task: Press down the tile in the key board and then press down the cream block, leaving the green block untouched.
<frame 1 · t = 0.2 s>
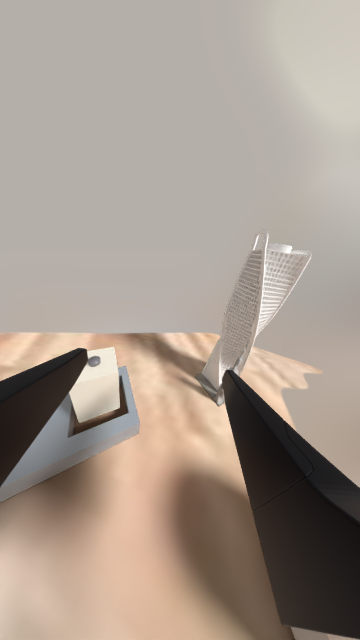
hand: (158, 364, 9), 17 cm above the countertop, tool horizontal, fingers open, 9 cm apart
can: (319, 608, 11), on the countertop
cream block 1: (97, 381, 17), point 7 cm above the countertop, slide at 0.0 cm
skyscraper: (216, 381, 29), on the countertop
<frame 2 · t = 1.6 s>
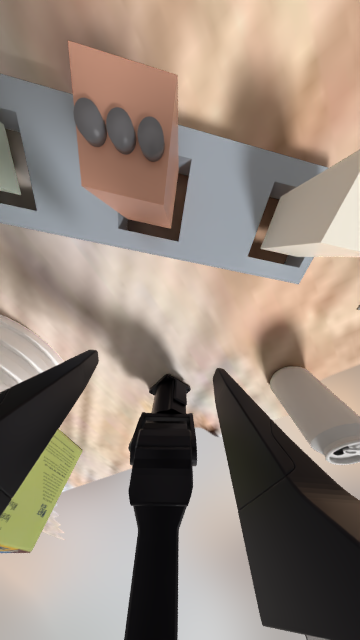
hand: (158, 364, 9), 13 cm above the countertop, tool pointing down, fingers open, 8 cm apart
plate stack: (0, 368, 27), on the countertop
can: (285, 376, 28), on the countertop
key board: (156, 206, 16), on the countertop
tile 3: (141, 174, 9), point 7 cm above the countertop, slide at 0.0 cm
cream block 1: (324, 220, 11), point 7 cm above the countertop, slide at 0.0 cm
protein box: (52, 438, 38), on the countertop
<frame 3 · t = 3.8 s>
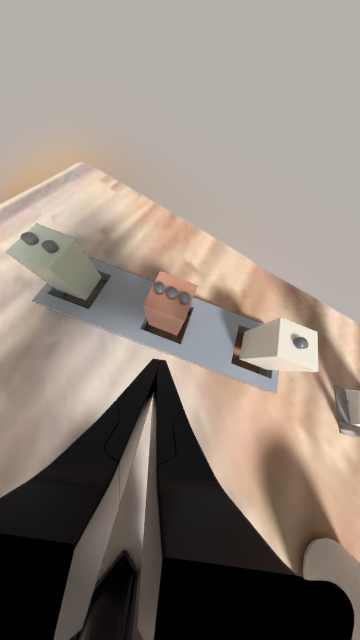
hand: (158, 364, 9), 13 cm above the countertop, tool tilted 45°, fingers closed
can: (323, 572, 16), on the countertop
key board: (167, 322, 24), on the countertop
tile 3: (169, 307, 17), point 7 cm above the countertop, slide at 0.0 cm
green block 2: (63, 266, 17), point 7 cm above the countertop, slide at 0.0 cm
cream block 1: (274, 347, 17), point 7 cm above the countertop, slide at 0.0 cm
skyscraper: (353, 408, 24), on the countertop
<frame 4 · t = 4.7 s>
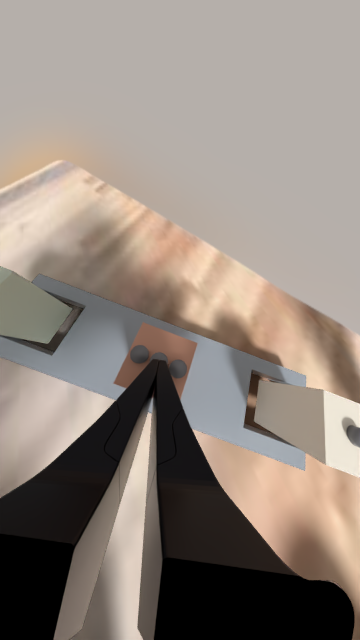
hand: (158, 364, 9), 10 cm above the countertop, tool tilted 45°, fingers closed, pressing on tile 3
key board: (159, 363, 19), on the countertop
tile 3: (159, 362, 13), point 6 cm above the countertop, slide at 0.4 cm, touching gripper
green block 2: (7, 304, 12), point 7 cm above the countertop, slide at 0.0 cm
cream block 1: (306, 418, 12), point 7 cm above the countertop, slide at 0.0 cm
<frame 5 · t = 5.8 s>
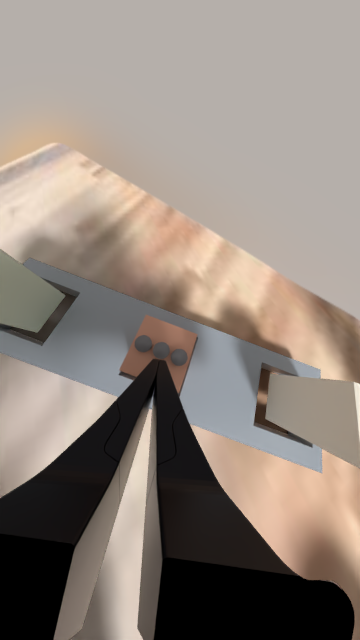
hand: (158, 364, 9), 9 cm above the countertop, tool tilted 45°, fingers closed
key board: (161, 356, 17), on the countertop
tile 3: (161, 353, 13), point 4 cm above the countertop, slide at 2.6 cm
cream block 1: (327, 415, 11), point 7 cm above the countertop, slide at 0.0 cm
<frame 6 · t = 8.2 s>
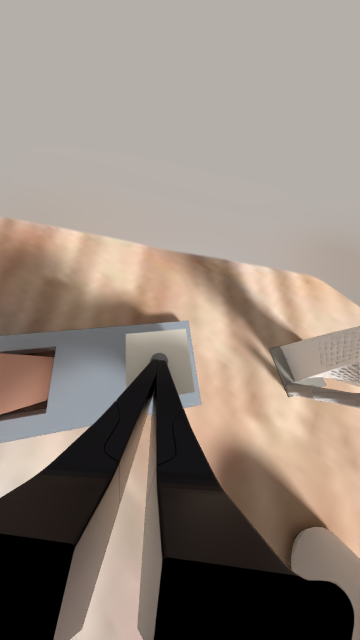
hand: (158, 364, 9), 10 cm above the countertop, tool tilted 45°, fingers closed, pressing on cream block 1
can: (314, 565, 14), on the countertop
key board: (38, 379, 16), on the countertop
cream block 1: (159, 362, 13), point 6 cm above the countertop, slide at 0.4 cm, touching gripper
skyscraper: (294, 361, 22), on the countertop
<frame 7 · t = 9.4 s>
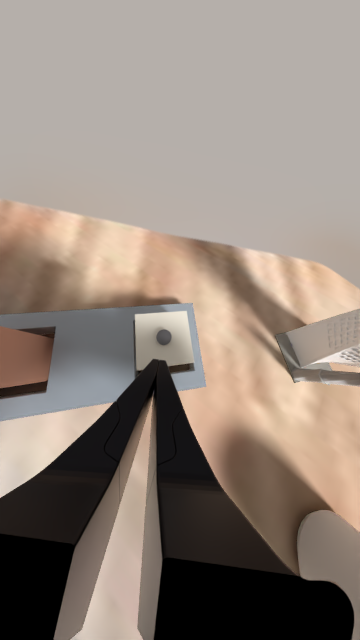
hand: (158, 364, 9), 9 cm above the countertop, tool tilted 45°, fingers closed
can: (320, 548, 14), on the countertop
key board: (38, 361, 16), on the countertop
cream block 1: (163, 343, 14), point 4 cm above the countertop, slide at 2.6 cm
skyscraper: (300, 347, 21), on the countertop
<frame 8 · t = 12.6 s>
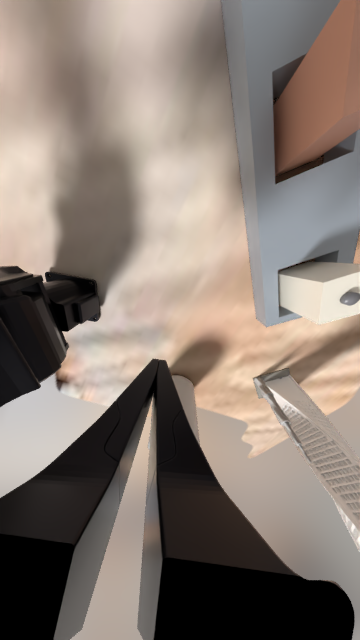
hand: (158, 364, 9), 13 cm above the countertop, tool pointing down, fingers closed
can: (175, 384, 29), on the countertop
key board: (290, 141, 13), on the countertop
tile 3: (333, 97, 10), point 4 cm above the countertop, slide at 2.6 cm
cream block 1: (315, 289, 15), point 4 cm above the countertop, slide at 2.6 cm
skyscraper: (274, 382, 29), on the countertop
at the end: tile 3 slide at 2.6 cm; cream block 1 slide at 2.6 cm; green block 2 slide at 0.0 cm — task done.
